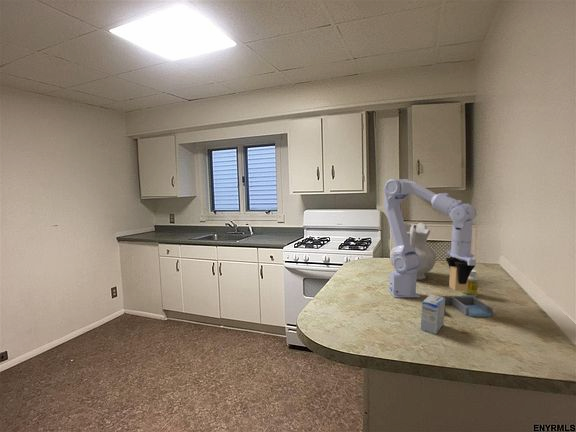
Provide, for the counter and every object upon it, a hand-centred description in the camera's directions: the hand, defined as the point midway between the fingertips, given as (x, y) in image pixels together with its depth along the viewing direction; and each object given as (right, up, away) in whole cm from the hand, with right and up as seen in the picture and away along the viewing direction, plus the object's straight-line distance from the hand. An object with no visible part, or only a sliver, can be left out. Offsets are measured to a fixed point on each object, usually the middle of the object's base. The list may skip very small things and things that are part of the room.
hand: (458, 281), depth 106 cm
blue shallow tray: (+1, -10, +1) cm, 10 cm away
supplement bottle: (+12, -9, +16) cm, 22 cm away
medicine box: (-14, -12, -12) cm, 22 cm away
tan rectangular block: (0, -2, 0) cm, 3 cm away
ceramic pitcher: (0, -6, +39) cm, 39 cm away
